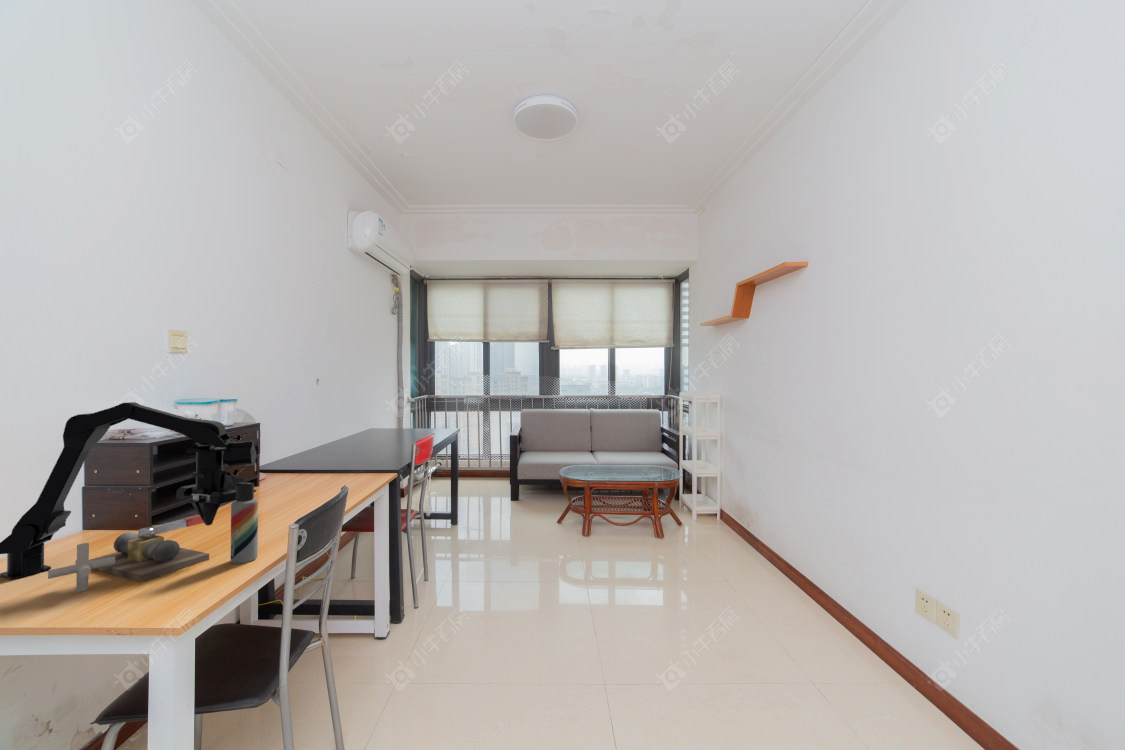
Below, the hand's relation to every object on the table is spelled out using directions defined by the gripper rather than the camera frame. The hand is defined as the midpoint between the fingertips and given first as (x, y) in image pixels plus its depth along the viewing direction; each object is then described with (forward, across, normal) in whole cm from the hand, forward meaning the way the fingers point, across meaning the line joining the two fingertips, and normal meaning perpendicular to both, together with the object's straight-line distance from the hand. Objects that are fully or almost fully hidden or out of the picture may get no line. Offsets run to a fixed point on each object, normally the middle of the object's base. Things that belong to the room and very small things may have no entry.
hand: (208, 525), depth 122 cm
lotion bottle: (+7, -16, +1) cm, 17 cm away
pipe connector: (+7, +1, +25) cm, 26 cm away
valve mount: (+7, +6, +11) cm, 14 cm away
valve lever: (0, +6, +5) cm, 8 cm away
